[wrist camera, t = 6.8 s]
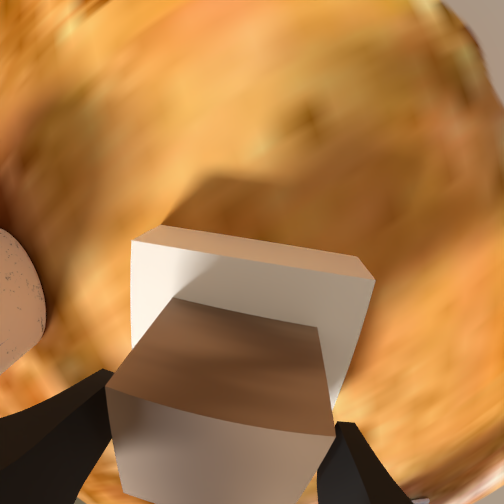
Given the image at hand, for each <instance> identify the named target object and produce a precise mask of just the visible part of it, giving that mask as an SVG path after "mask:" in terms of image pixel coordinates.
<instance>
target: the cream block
mask: <svg viewBox="0 0 504 504" xmlns="http://www.w3.org/2000/svg"><path fill="white" fill-rule="evenodd" d="M375 281H376V280H375V279H374V277H373V276H372V275H371V273H370V272H369V271H368V270H367V268H366V267H365V266H364V264H363V263H362V262H361V261H360V259H359V258H358V257H357V256H352V255H346V254H340V253H334V252H328V251H322V250H316V249H310V248H304V247H298V246H292V245H286V244H280V243H274V242H268V241H261V240H255V239H249V238H243V237H236V236H230V235H224V234H218V233H211V232H205V231H198V230H192V229H186V228H179V227H173V226H166V225H159V226H157V227H155V228H153V229H151V230H150V231H148V232H146V233H144V234H142V235H140V236H139V237H137V238H135V239H133V240H132V244H131V339H132V349H133V348H134V347H135V345H136V344H137V343H138V341H139V340H140V339H141V337H142V336H143V335H144V334H145V332H146V331H147V330H148V328H149V327H150V326H151V324H152V323H153V322H154V321H155V319H156V318H157V317H158V315H159V314H160V313H161V311H162V310H163V309H164V308H165V306H166V305H167V304H168V302H169V301H170V300H171V299H172V297H174V298H178V299H182V300H186V301H191V302H195V303H199V304H204V305H208V306H213V307H217V308H222V309H226V310H231V311H236V312H240V313H245V314H250V315H255V316H260V317H265V318H270V319H275V320H280V321H285V322H291V323H296V324H302V325H307V326H313V327H317V329H318V334H319V339H320V345H321V350H322V355H323V361H324V367H325V372H326V378H327V384H328V390H329V396H330V402H331V408H332V410H333V407H334V405H335V402H336V400H337V397H338V395H339V392H340V389H341V387H342V384H343V381H344V379H345V376H346V373H347V370H348V368H349V365H350V362H351V359H352V356H353V353H354V350H355V347H356V344H357V341H358V338H359V335H360V332H361V329H362V326H363V322H364V319H365V316H366V313H367V309H368V306H369V302H370V299H371V295H372V292H373V288H374V284H375Z"/></svg>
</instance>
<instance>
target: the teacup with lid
mask: <svg viewBox="0 0 504 504" xmlns="http://www.w3.org/2000/svg"><path fill="white" fill-rule="evenodd" d="M45 323H46V306H45V299H44V294H43V290H42V286H41V283H40V280H39V277H38V275H37V272H36V270H35V268H34V266H33V264H32V262H31V260H30V258H29V256H28V255H27V253H26V252H25V250H24V249H23V247H22V246H21V245H20V243H19V242H18V241H17V240H16V239H15V238H14V237H13V236H12V235H10V234H9V233H8V232H6V231H5V230H3V229H1V228H0V375H1V374H2V373H3V372H4V371H5V370H7V369H8V368H9V367H10V366H11V365H12V364H14V363H15V362H16V361H17V360H18V359H19V358H21V357H22V356H23V355H24V354H25V353H26V352H28V351H29V350H30V349H31V348H32V347H33V346H35V345H36V344H37V343H38V342H39V340H40V339H41V337H42V335H43V332H44V329H45Z"/></svg>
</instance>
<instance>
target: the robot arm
mask: <svg viewBox="0 0 504 504" xmlns="http://www.w3.org/2000/svg"><path fill="white" fill-rule="evenodd" d="M113 375H114V372H111V371H108V370H105V369H101V370H99V371H98V372H96V373H94V374H92V375H91V376H89V377H87V378H85V379H84V380H82V381H80V382H79V383H77V384H75V385H73V386H72V387H70V388H68V389H66V390H64V391H63V392H61V393H59V394H57V395H55V396H53V397H51V398H49V399H47V400H45V401H43V402H41V403H39V404H37V405H35V406H32V407H30V408H28V409H25V410H23V411H20V412H18V413H15V414H12V415H9V416H6V417H3V418H0V504H74V502H75V500H76V498H77V495H78V493H79V491H80V489H81V487H82V486H83V484H84V482H85V480H86V479H87V477H88V476H89V474H90V472H91V471H92V469H93V468H94V466H95V464H96V463H97V461H98V460H99V458H100V457H101V455H102V453H103V452H104V450H105V449H106V447H107V445H108V444H109V442H110V440H111V439H112V434H111V427H110V421H109V414H108V407H107V399H106V390H105V385H106V384H107V383H108V381H109V380H110V379H111V377H112V376H113ZM335 434H336V438H335V439H334V441H333V443H332V445H331V447H330V448H329V450H328V452H327V454H326V456H325V457H324V459H323V461H322V462H321V464H320V466H319V468H318V469H317V493H318V504H429V502H430V500H429V498H425V499H418V500H410V499H409V498H408V497H407V496H406V494H405V493H404V492H403V491H402V490H401V488H400V487H399V486H398V485H397V484H396V482H395V481H394V480H393V479H392V477H391V476H390V475H389V473H388V472H387V471H386V469H385V468H384V466H383V465H382V464H381V462H380V461H379V459H378V458H377V456H376V455H375V453H374V452H373V450H372V449H371V447H370V446H369V444H368V443H367V441H366V440H365V438H364V436H363V435H362V433H361V432H360V430H359V429H358V427H357V426H356V424H355V423H351V422H339V421H337V423H336V425H335Z"/></svg>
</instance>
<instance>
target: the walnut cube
mask: <svg viewBox="0 0 504 504" xmlns="http://www.w3.org/2000/svg"><path fill="white" fill-rule="evenodd" d="M105 390H106V399H107V407H108V414H109V421H110V427H111V434H112V440H113V445H114V451H115V456H116V461H117V466H118V471H119V475H120V480H121V484H122V489H123V493H126V494H129V495H132V496H134V497H137V498H140V499H143V500H146V501H149V502H153V503H156V504H296V502H297V501H298V499H299V498H300V496H301V495H302V493H303V492H304V490H305V489H306V487H307V485H308V484H309V482H310V481H311V479H312V477H313V476H314V474H315V473H316V471H317V469H318V468H319V466H320V464H321V462H322V461H323V459H324V457H325V456H326V454H327V452H328V450H329V448H330V447H331V445H332V443H333V441H334V439H335V438H336V434H335V427H334V421H333V414H332V408H331V402H330V396H329V390H328V384H327V378H326V372H325V367H324V361H323V355H322V350H321V345H320V339H319V334H318V329H317V327H313V326H307V325H302V324H296V323H291V322H285V321H280V320H275V319H270V318H265V317H260V316H255V315H250V314H245V313H240V312H236V311H231V310H226V309H222V308H217V307H213V306H208V305H204V304H199V303H195V302H191V301H186V300H182V299H178V298H174V297H172V299H171V300H170V301H169V302H168V304H167V305H166V306H165V308H164V309H163V310H162V311H161V313H160V314H159V315H158V317H157V318H156V319H155V321H154V322H153V323H152V324H151V326H150V327H149V328H148V330H147V331H146V332H145V334H144V335H143V336H142V337H141V339H140V340H139V341H138V343H137V344H136V345H135V347H134V348H133V349H132V351H131V352H130V353H129V355H128V356H127V357H126V359H125V360H124V361H123V363H122V364H121V365H120V367H119V368H118V369H117V371H116V372H115V373H114V375H113V376H112V377H111V379H110V380H109V381H108V383H107V384H106V385H105Z"/></svg>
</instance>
